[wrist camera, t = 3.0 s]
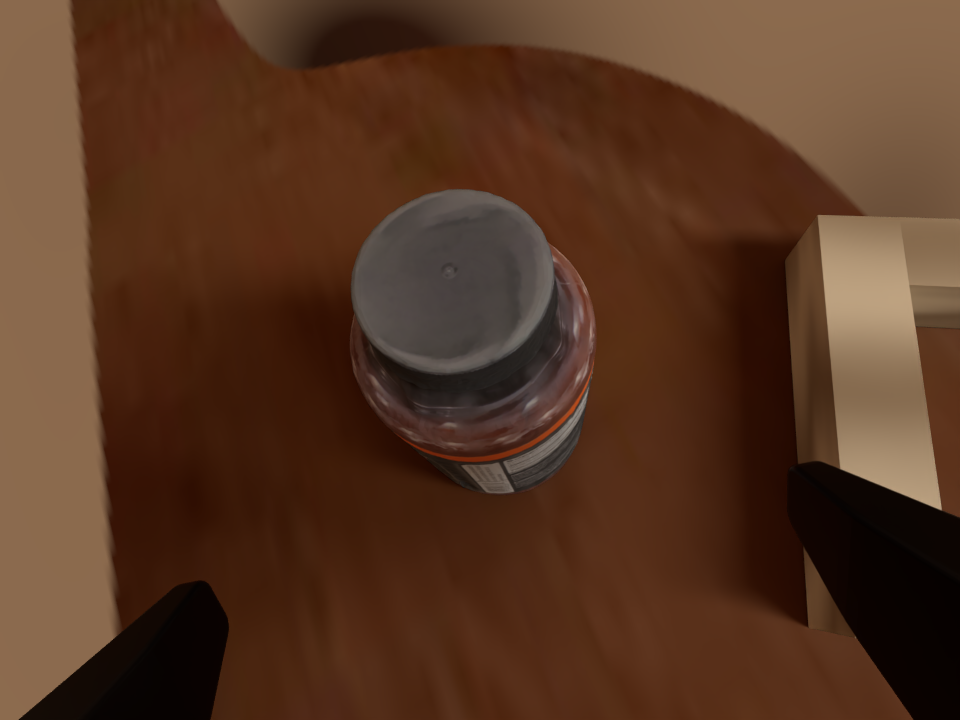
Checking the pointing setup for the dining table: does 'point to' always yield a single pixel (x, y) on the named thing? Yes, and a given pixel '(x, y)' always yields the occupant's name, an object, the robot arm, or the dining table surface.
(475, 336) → the supplement bottle
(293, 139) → the dining table surface
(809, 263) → the cream square shallow tray
